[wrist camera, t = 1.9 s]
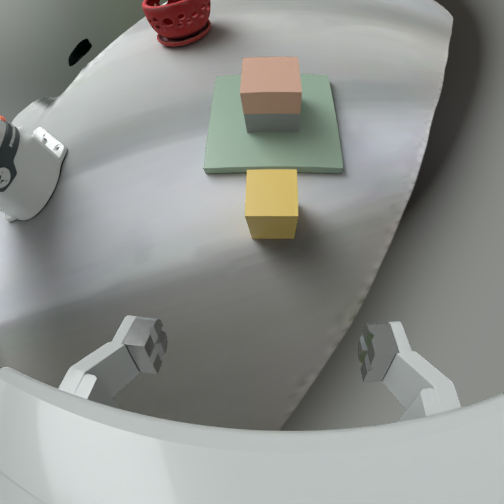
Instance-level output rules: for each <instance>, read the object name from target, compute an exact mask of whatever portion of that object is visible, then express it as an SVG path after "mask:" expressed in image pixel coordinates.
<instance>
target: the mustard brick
mask: <svg viewBox="0 0 504 504" xmlns="http://www.w3.org/2000/svg"><path fill="white" fill-rule="evenodd" d="M245 218H246V221H247V224H248V227H249V230H250V233H251V236H252V239H294V236H295V231H296V226H297V221H298V188H297V170H296V169H258V170H247V177H246V202H245Z"/></svg>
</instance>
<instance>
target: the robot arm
mask: <svg viewBox="0 0 504 504" xmlns="http://www.w3.org/2000/svg"><path fill="white" fill-rule="evenodd" d="M66 152H67V147H66V146H65V145H63V144H62V143H61V142H60V141H58V140H57V139H56V138H55V137H53V136H52V135H51V134H50V133H48V132H47V131H46V130H45V129H43V128H42V127H39V128H37V129H35V130H34V131H33V132H31V131H30V130H29V129H28V128H26V127H25V126H20V127H18V128H16V127H15V126H14V125H13V124H11V123H8V122H7V121H6V120H5V118H4V117H3V116H0V210H1V211H2V212H4V213H5V219H6V220H7V221H9V222H11V221H13V220H15V219H19V220H28V219H30V218H32V217H34V216H35V215H36V214H37V213H38V212H39V211H40V210H41V209H42V208H43V207H44V206H45V204H46V203H47V201H48V200H49V198H50V196H51V195H52V193H53V191H54V189H55V186H56V184H57V181H58V177H59V173H60V167H61V163H62V161H63V159H64V157H65V154H66ZM162 326H163V325H162V322H161V320H160V319H154V318H146V317H139V316H138V317H137V316H130V315H128V316H126V317H125V318H124V320H123V322H122V324H121V325H120V327H119V329H118V331H117V333H116V334H115V336H114V338H113V340H112V342H108V343H106V344H105V345H103V346H101V347H100V348H98V349H97V350H95V351H94V352H92V353H91V354H89V355H88V356H86V357H85V358H83V359H82V360H80V361H79V362H77V363H76V364H74V365H73V366H71V367H70V368H69V370H68V372H67V373H66V375H65V377H64V379H63V381H62V383H61V385H60V386H59V388H58V389H57V388H55V387H52V386H50V385H47V384H45V383H42V382H40V381H38V380H35V379H33V378H31V377H29V376H27V375H24V374H22V373H20V372H18V371H16V370H14V369H12V368H10V367H3V368H1V369H0V504H504V393H502V394H499V395H496V396H494V397H491V398H488V399H485V400H483V401H479V402H476V403H473V404H470V405H467V406H464V407H461V405H460V403H459V399H458V396H457V393H456V391H455V388H454V385H453V383H452V382H451V381H450V380H449V379H448V378H447V377H446V376H444V375H443V374H442V373H441V372H439V371H438V370H437V369H436V368H435V367H433V366H432V365H431V364H430V363H428V361H426V360H425V359H424V358H423V357H421V356H420V355H419V354H418V353H416V352H415V351H413V352H412V350H411V347H410V345H409V342H408V339H407V337H406V334H405V331H404V329H403V326H402V324H401V322H385V323H369V324H365V325H364V326H363V329H362V332H363V336H362V337H360V339H359V343H358V358H359V360H360V361H361V362H362V363H363V364H362V367H361V373H362V378H363V382H372V381H383V383H384V384H385V385H386V387H387V388H388V389H389V390H390V391H391V392H392V394H393V395H394V396H395V397H396V398H397V399H398V401H399V402H400V403H401V404H402V405H403V406H404V408H405V409H406V410H407V411H406V412H405V413H404V414H403V416H402V417H401V418H400V419H399V420H398V422H395V423H389V424H382V425H374V426H367V427H357V428H347V429H334V430H315V431H266V430H247V429H233V428H222V427H213V426H205V425H197V424H191V423H184V422H178V421H172V420H167V419H162V418H157V417H152V416H147V415H143V414H138V413H134V412H130V411H126V410H122V409H119V406H118V405H117V403H116V402H115V401H114V400H113V397H114V396H115V395H116V394H117V393H119V392H120V391H121V390H122V389H123V388H124V387H125V386H126V385H127V384H128V383H129V382H131V381H132V380H133V379H134V378H135V377H136V376H137V375H138V374H139V373H140V372H144V373H151V374H158V372H159V369H160V366H161V363H162V361H161V359H160V357H162V356H163V355H164V354H165V352H166V350H167V343H168V341H167V336H166V333H165V332H164V331H163V330H162Z"/></svg>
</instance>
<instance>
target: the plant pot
mask: <svg viewBox="0 0 504 504" xmlns="http://www.w3.org/2000/svg"><path fill="white" fill-rule="evenodd" d="M159 1H160V0H144V1H143V3H142V7H143V11H144V13H145V15H146V18H147V20H148V22H149V23H150V25H151V26H152V28H153V29H154V30H155V31H156V32H157V33H158V35H157V40H158V41H159V42H160V43H161V44H163V45H166V46H182V45H186V44H189V43H192V42H195V41H197V40H199V39H200V38H202V37H203V36H204V35H206V34H207V32H208V31H209V29H210V27H211V23H210V21H209V20H208V18H209V15H210V0H168V2H167V4H166V5H162V6H160V4H159ZM155 3H156V6H154V4H155Z"/></svg>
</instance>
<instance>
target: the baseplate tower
mask: <svg viewBox="0 0 504 504" xmlns="http://www.w3.org/2000/svg"><path fill="white" fill-rule="evenodd" d="M203 169H204V171H205V173H206V174H210V173H237V172H247V170H258V169H296V170H297V172H315V173H342V170H343V161H342V153H341V146H340V139H339V133H338V126H337V120H336V114H335V109H334V103H333V98H332V93H331V88H330V83H329V78H328V75H314V74H300V71H299V63H298V57H252V58H243V61H242V73H241V75H231V76H219V77H216V81H215V87H214V94H213V100H212V107H211V113H210V120H209V127H208V135H207V142H206V150H205V158H204V167H203Z"/></svg>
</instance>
